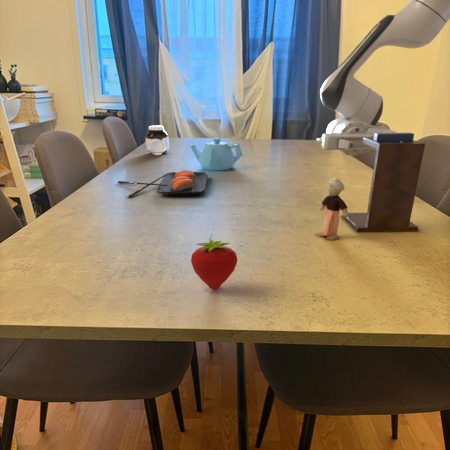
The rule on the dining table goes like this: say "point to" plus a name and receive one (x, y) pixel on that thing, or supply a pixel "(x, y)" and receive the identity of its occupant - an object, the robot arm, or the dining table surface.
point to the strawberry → (214, 263)
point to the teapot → (217, 155)
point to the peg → (393, 137)
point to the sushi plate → (178, 183)
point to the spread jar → (157, 140)
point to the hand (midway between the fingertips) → (369, 145)
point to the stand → (391, 187)
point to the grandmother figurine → (333, 209)
